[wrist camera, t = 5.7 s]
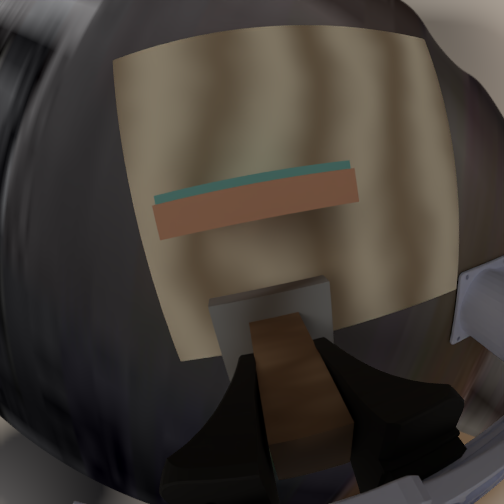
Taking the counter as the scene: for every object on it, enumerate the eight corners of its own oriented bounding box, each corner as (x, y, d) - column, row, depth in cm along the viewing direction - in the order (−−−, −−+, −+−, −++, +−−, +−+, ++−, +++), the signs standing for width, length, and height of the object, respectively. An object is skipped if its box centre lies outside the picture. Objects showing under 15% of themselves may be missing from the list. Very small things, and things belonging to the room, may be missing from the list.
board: (417, 42, 16) (424, 39, 15) (449, 285, 21) (456, 289, 20) (117, 65, 15) (112, 60, 14) (182, 353, 20) (180, 361, 19)
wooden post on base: (323, 274, 14) (412, 373, 6) (329, 351, 16) (389, 460, 8) (209, 298, 14) (193, 427, 6) (230, 373, 16) (236, 498, 7)
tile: (298, 167, 17) (352, 159, 9) (302, 191, 17) (359, 201, 9) (185, 189, 17) (150, 196, 9) (190, 213, 17) (160, 240, 9)
